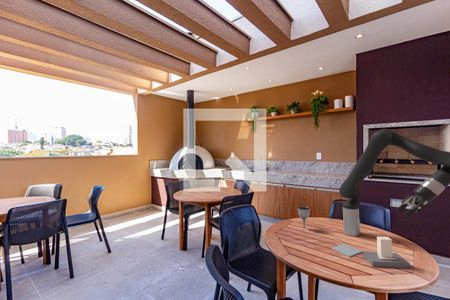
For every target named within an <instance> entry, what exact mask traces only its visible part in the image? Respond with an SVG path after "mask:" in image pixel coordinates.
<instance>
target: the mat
mask: <svg viewBox="0 0 450 300" xmlns="http://www.w3.org/2000/svg"><path fill="white" fill-rule="evenodd" d="M330 249H331V250H333V251H335V252H337V253H340V254H342V255H344V256H345V257H347V258H351V257H354V256H356V255H359V254H361V253H362V254H363V252H364V251H363V250H360V249H359V248H355V247H353V246H351V245H348V244H346V243H342V244H339V245H336V246H333V247H330Z"/></svg>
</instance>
